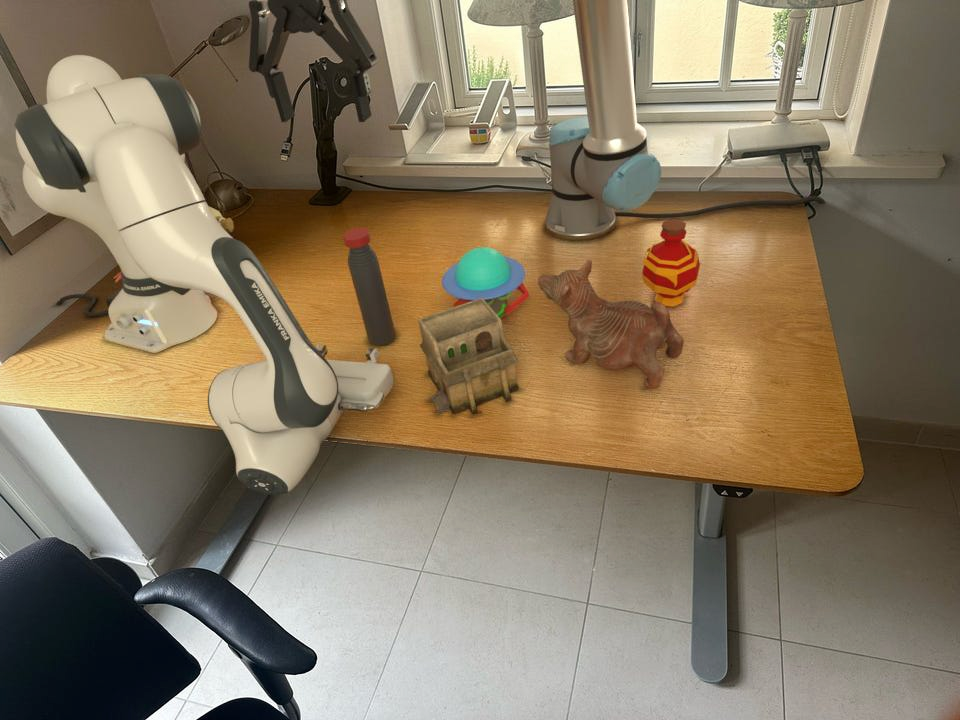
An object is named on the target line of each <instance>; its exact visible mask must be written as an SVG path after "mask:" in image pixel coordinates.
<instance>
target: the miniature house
mask: <svg viewBox="0 0 960 720" xmlns="http://www.w3.org/2000/svg"><path fill="white" fill-rule="evenodd" d="M417 322H418V327H419V331H420V335H421V343H420V344H419V347H420V349H421V350H422V352H423V353H424V355H425V359H426V364H427V373H428V376H429V378H430V379H431V381H432V382H433V384H434V385H435V388H436V389H437V391H436V392H435V394H434V395H433V396H431V397H429V402H432V403H433V404H434V406H435V408H436V409H437V410H436V413H437V414H441V413H444V412H446V411H449V410H450V411H451V413H452V414H453V415H456V414H458V413H461V412H464V411H467V410H469V411H470V413H471V414H472V415H473V416H474V415H476V414H479V411H478V410H479V409H478V407H477V406H480V405H482V404H486V403H488V402H490V401H493V400H496V399H499V398H501V397H502V398H503V399H504V400H505V402H506V403H508V402H511V401H512V395H511V393H515V392H517V391H519V390H520V386H519V383H518V377H517V368H516V363H517V362H520V359H519V358H518V356H517V355H515V350H514V349H513V348H512V346H511V345H510V344H509V343H508V341H507V340H506V336H505V334H504V329H503V328H504V327H503V322H502V318H499V317H498V316H497V314H496V313H495V312H494V311H493V310H492V308H491V307H490V306H489V305H488V304H487V303H486V301H485V300H484V299H483V298H480V299H477V300H474V301H471V302H468V303H465V304H462V305H459V306H456V307H454V306H453V307H451V308H447V309H445V310H444V309H443V310H442V311H441V310H440V311H439V312H435V313H433V314H430V315H426V316H423V317H421V318H418V319H417Z"/></svg>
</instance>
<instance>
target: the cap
mask: <svg viewBox="0 0 960 720" xmlns="http://www.w3.org/2000/svg"><path fill="white" fill-rule="evenodd" d="M342 238H343V242H344V245H345V247H346V248H348V249H350V248H360V247H363V246H365V245H367V244H368V245H369V244H370V243H371V241H372V240H371V235H370V230H369V229H368V228H365V227H354V228H351V229H348V230H347V231H345V232H344V233H343V235H342Z"/></svg>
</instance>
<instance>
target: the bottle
mask: <svg viewBox="0 0 960 720" xmlns="http://www.w3.org/2000/svg"><path fill="white" fill-rule="evenodd" d="M347 266H348V270H349V273H350V277H351V281H352V284H353V288H354V292H355V295H356V299H357V302H358V305H359V306H358V307H359V310H360V314H361V318H362V321H363V325H364V328H365V332H366V337H367V340H368V342H369V344H370V345H371V346H374V347H384V346H388V345H390V344H391V343H393V342H394V341H395V339H396V338H397V333H396V330H395V324H394V321H393V317H392V313H391V308H390V305H389V300H388V296H387V291H386V287H385V284H384V280H383V276H382V271H381V267H380V262H379V258H378V255H377V253H376V252H375V250H374V249H373V247H371V245H370V244H369V243H368V244H367V245H365V246H363V247H360V248H348V255H347Z"/></svg>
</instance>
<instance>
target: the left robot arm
mask: <svg viewBox="0 0 960 720" xmlns="http://www.w3.org/2000/svg"><path fill="white" fill-rule="evenodd" d="M201 124H202V123H201V116H200V112H199V109H198V106H197V104H196V102H195V100H194V98H193V97H192V95H191V94H190V92H188V90H186V87H185V86H184V85H183V83H182V82H180V81H179V80H178V79H176V78H174V77H171V76H170V75H168V74H162V73H161V74H160V73H149V74H148V73H147V74H138V76H135V77H131V78H125V79H122V78H121V76H120V75H119V74H118V72H117V71H116V70H115V69H114V67H112V66H111V65H110V64H108V63H106V62H105V61H103V60H102V59H99V58H97V57H95V56H91V55H85V54H74V55H73V54H72V55H70V56H66V57H64V58H62V59H60V60H59V61H58V62H56V63H55V64H54V65H53V66H52V68H51V69H50V71H49V74H48V76H47V80H46V103H45V104H41V103H37V104H35V105H32V106H30V107H28V108H26V109H25V110H23V111H21V112H20V113H19V114H17V116H16V118H15V122H14V128H15V143H16V147H17V149H18V153H19V155H20V157H21V160H23V162H24V164H23V167H22V182H23V187H24V189H25V191H26V193H27V195H28V196H29V198H30V199H31V200H32V202H34V203H35V205H37V206H38V207H39V208H40V209H42V210H44V211H45V212H46V213H50V214H52V215H55V216H59V217H63V218H67V219H71V220H73V221H75V222H77V223H80V224H81V225H84V226H86V227H87V228H89V229H90V230H92V231H93V232H94V233H95V234H96V235H98V237H100V239H101V240H102V241H103V243H104V244H105V245H106V246H107V248H108V249H109V251H110V252H111V255H112V256H113V258H114V259H115V261H116V263H117V264H118V267H119V269H120V271H119V272H118V273H117V274H116V275H115V276H113V279H116V280H115V283H118V282H119V281H120V280H121V284H122V287H121V288H120V289H118V290H117V291H115V292H114V293H113V294H111V295H110V296H108V297H107V298H106V305H107V307H108V308H107V309H105V310H104V311H99V312H90V310H91V309H93V307H94V306H95V304H96V303H97V298H96V297H95V295H91V294H85V293H74V294H68V295H64V296H62V297H60V298H59V299H60V301H58V300H57V302H56V306H61V305H62V303H64V302H66V301H68V300H73V299H89V300H91V301H90V302H89V304H87V306H86V307H84V310H83V314H84V315H85V316H87V317H90V318H99V317H103V316H107V315H108V317H109V320H110V324H109V325H108V327H107V328H106V330H105V332H104V335H103V337H104V339H105V341H107V342H110V343H113V344H117V345H121V346H125V347H129V348H133V349H137V350H140V351H143V352H144V351H145V352H148V353H151V354H156V353H160V352H162V351H165V350H166V349H168V348H170V347H173V346H175V345H179V344H182V343H187V342H188V341H190V340H193V339H195V338H197V337H199V336H200V335H202V334H204V333H206V332H207V331H208V330H209V329H210V328H211V327H212V326H214V324H215V323H216V321H217V320H218V310H217V309H216V308H215V306H214V305H213V304H212V300H211V298H210V296H209V295H208V294H211V295H214V296H216V297H217V298H220V299H222V300H223V301H225V302H226V303H227V304H228V305H230V307H232V309H233V310H234V311H235V312H236V314H237V315H238V317H239V318H240V320H241V321H242V323H243V324H244V326H245V328H246V329H247V331H248V332H249V334H250V335H251V338H252V339H253V340H254V342H255V343H256V345H257V346H258V348H259V349H260V351H261V353H262V354H263V356H264V357H265V359H264V360H259V361H256V362H249V363H245V364H242V365H238V366H234V367H231V368H226V369H224V370H221V371H219V372H218V374H216V375H215V377H214V378H213V379H212V381H211V384H210V385H209V389H208V391H207V409H208V412H209V415H210V417H211V419H212V421H213V422H214V423H215V425H216V426H217V427H218V428H219V429H220V430H221V431H222V432H223V433H224V435H225V436H226V438H227V440H228V442H229V445H230V446H231V449H232V451H233V454H234V458H235V473H236V476H237V478H238V480H239V481H240V482H241V484H242V485H244V487H246V488H248V489H249V490H251V491H253V492H255V493H260V494H262V495H265V496H266V495H267V496H275V495H277V496H278V495H283V494H288V493H289V492H291V491H292V490H293V489H294V488H295V487H296V486H297V485H298V484H299V483H300V482H301V481H302V480H303V478H304V477H305V475H306V474H307V472H308V471H309V470H310V468H311V466H312V465H313V463H314V462H315V460H316V458H317V456H318V455H319V453H320V448H321V445H322V444H323V442H324V441H326V439H327V438H328V437H329V436H330V435H331V433H332V431H333V430H334V428H335V426H336V424H337V423H338V421H339V420H340V418H341V417H342V414H343V412H344V411H358V412H362V413H366V412H367V413H368V411H370V410H374V409H378V408H379V407H380V405H381V404H382V402H383V401H384V399H385V398H386V397H387V396H388V394H389V393H390V392H391V390H392V388H393V387H394V385H395V378H394V374H393V373H394V372H393V370H392V368H391V366H390V365H389V364H387V363H378V362H377V361H379V358H380V352H379V349H378V348H371V347H370V348H368V349H367V351H365V357H366V361H365V362H364V361H350V360H337V359H327V358H326V356H327V355H328V353H329V351H328V350H329V349H328V348H327V345H325V344H316V345H314V344H313V343H312V341H311V339H309V337H308V336H307V334H306V332H305V331H304V329H303V327H302V326H301V324H300V323H299V321H298V319H297V318H296V316H295V315H294V314H293V313H294V312H293V311H292V310H291V308H290V306H289V305H288V304H287V302H286V300H285V299H284V297H283V296H282V294H281V293H280V291H279V289H278V287H277V286H276V284H275V283H274V281H273V279H272V278H271V276H270V275H269V273H268V272H267V270H266V269H265V267H264V265H263V264H262V263H261V261H260V260H259V258H258V257H257V256H256V255H255V253H254V252H253V251H252V250H251V249H250V248H249V247H248V246H247V245H246V244H245V242H243V241H241V240H239V239H236V238H234V237H233V236H231V234H230V233H228V232H226V231H225V230H224V228H223V227H222V226H221V225H220V224H219V222H218V221H217V220H216V218H215V217H214V215H213V214H212V212H211V210H210V208H209V207H210V206H209V205H208V203H207V201H206V198H205V196H204V194H203V192H202V190H201V188H200V186H199V185H198V183H197V180H196V179H195V177H194V175H193V174H192V172H191V170H190V169H189V167H188V165H187V164H186V155H185V154H186V153H188V152H190V151H192V150H193V149H195V148H196V147H197V146H199V144H200V142H201V139H202V136H203V135H202V134H203V133H202V127H201V126H202V125H201ZM206 293H207V294H206Z"/></svg>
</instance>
